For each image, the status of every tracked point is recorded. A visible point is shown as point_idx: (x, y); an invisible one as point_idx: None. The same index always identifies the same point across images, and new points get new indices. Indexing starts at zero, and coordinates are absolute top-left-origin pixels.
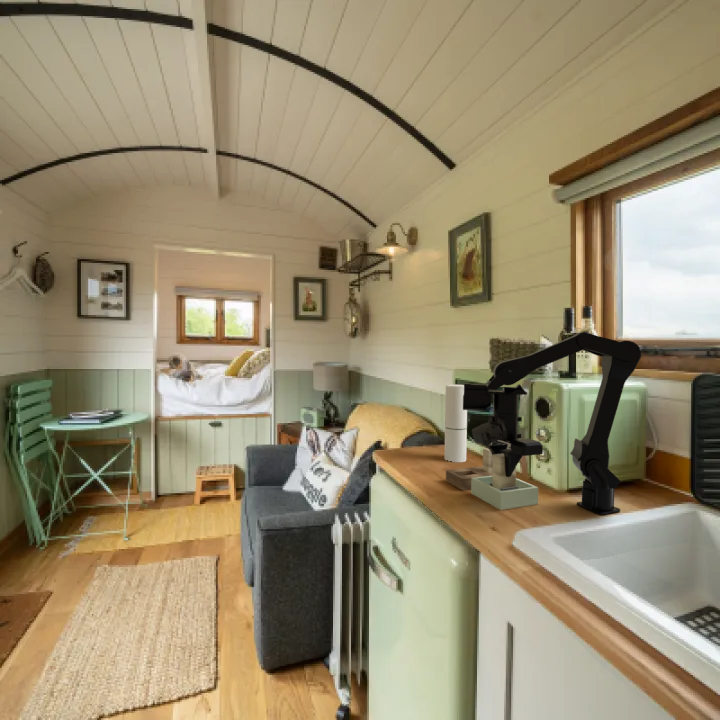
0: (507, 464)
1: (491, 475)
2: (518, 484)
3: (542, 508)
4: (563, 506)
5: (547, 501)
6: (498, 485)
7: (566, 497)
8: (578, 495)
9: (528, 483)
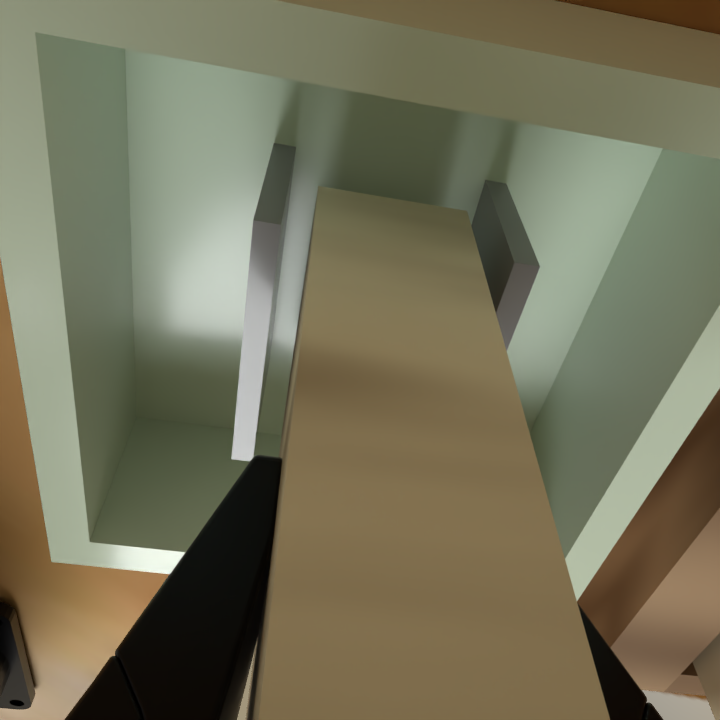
0: (134, 666)
1: (718, 516)
2: None
3: (8, 381)
4: (11, 528)
5: None
6: (331, 250)
7: None
8: None
9: None
